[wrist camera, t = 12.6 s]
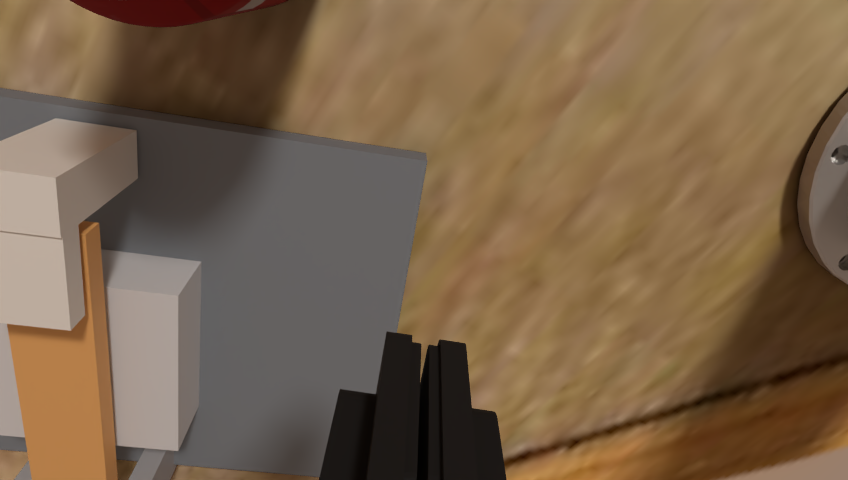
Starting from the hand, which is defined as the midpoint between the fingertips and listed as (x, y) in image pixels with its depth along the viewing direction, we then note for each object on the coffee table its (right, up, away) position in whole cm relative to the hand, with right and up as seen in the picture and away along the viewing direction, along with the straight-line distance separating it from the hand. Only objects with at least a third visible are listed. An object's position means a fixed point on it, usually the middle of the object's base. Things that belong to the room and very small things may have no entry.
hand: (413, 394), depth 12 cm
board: (-13, +1, +15) cm, 20 cm away
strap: (-14, -2, +11) cm, 18 cm away
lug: (-13, +5, +11) cm, 18 cm away
